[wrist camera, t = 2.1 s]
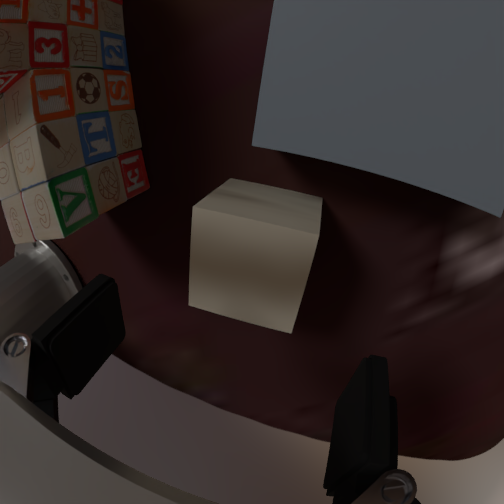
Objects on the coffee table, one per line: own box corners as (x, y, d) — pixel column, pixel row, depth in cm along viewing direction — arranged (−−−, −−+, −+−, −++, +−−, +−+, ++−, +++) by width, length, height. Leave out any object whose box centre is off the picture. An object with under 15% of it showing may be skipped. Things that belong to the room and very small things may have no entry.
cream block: (302, 277, 21) (291, 333, 16) (222, 257, 22) (188, 305, 17) (322, 197, 18) (319, 235, 13) (231, 177, 19) (192, 206, 14)
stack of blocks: (154, 188, 21) (23, 270, 10) (96, 199, 23) (-20, 268, 12) (122, -48, 12) (9, -86, 1) (68, -15, 14) (-41, -25, 3)
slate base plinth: (472, 196, 15) (500, 217, 12) (267, 138, 17) (251, 145, 14) (499, 12, 9) (528, 0, 5) (297, -53, 11) (289, -84, 7)
